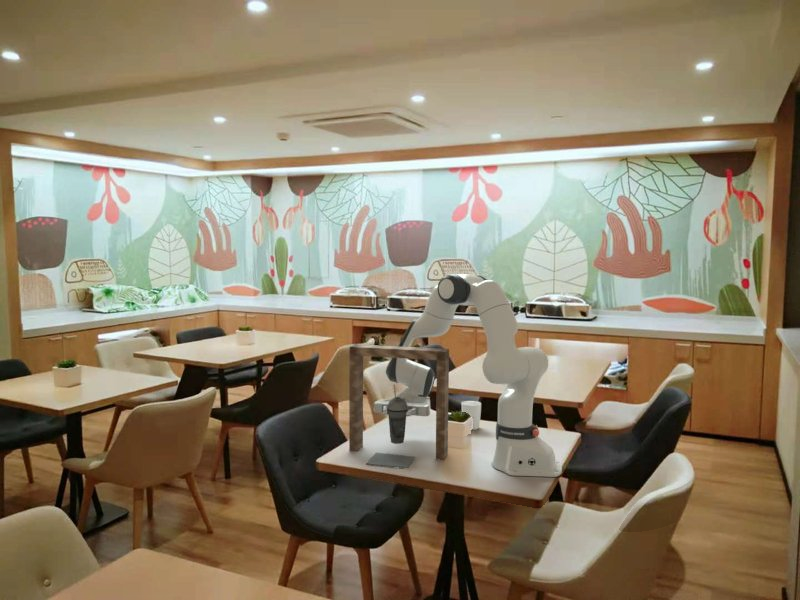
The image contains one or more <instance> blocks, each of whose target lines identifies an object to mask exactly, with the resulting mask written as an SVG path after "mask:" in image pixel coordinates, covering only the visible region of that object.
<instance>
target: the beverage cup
mask: <svg viewBox="0 0 800 600" xmlns="http://www.w3.org/2000/svg"><path fill="white" fill-rule="evenodd" d="M393 393H394V397H393V398H390V399H391V400H390V401H389V403H388V407H387V411H388V415H387V416H388V425H389V436H390V437H389V438H390V443H392V444H395V445H400V444H404V443H405V435H406V425H407V423H406V422H407V416H406V411H407V410H408V408H407V403H406V402H405V400H404V399H402V398H400V397H397V392H396V385H395V384H393Z"/></svg>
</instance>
